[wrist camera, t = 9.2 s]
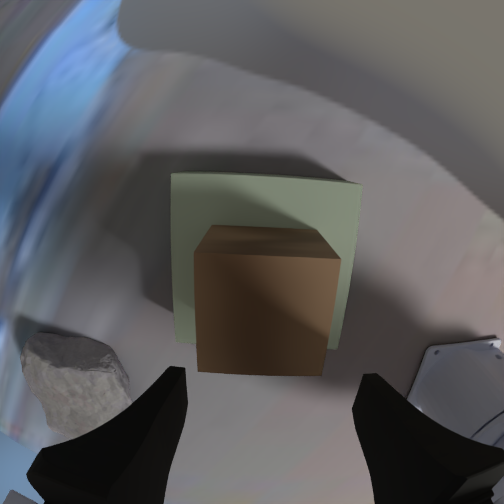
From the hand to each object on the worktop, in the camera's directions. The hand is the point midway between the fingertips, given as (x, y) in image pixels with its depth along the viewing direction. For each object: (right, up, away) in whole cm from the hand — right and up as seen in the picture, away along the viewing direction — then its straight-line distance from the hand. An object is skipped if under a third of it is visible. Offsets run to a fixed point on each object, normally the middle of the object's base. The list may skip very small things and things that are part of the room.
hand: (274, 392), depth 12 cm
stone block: (-16, -7, +13) cm, 21 cm away
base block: (0, +5, +8) cm, 10 cm away
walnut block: (0, +4, +5) cm, 7 cm away
